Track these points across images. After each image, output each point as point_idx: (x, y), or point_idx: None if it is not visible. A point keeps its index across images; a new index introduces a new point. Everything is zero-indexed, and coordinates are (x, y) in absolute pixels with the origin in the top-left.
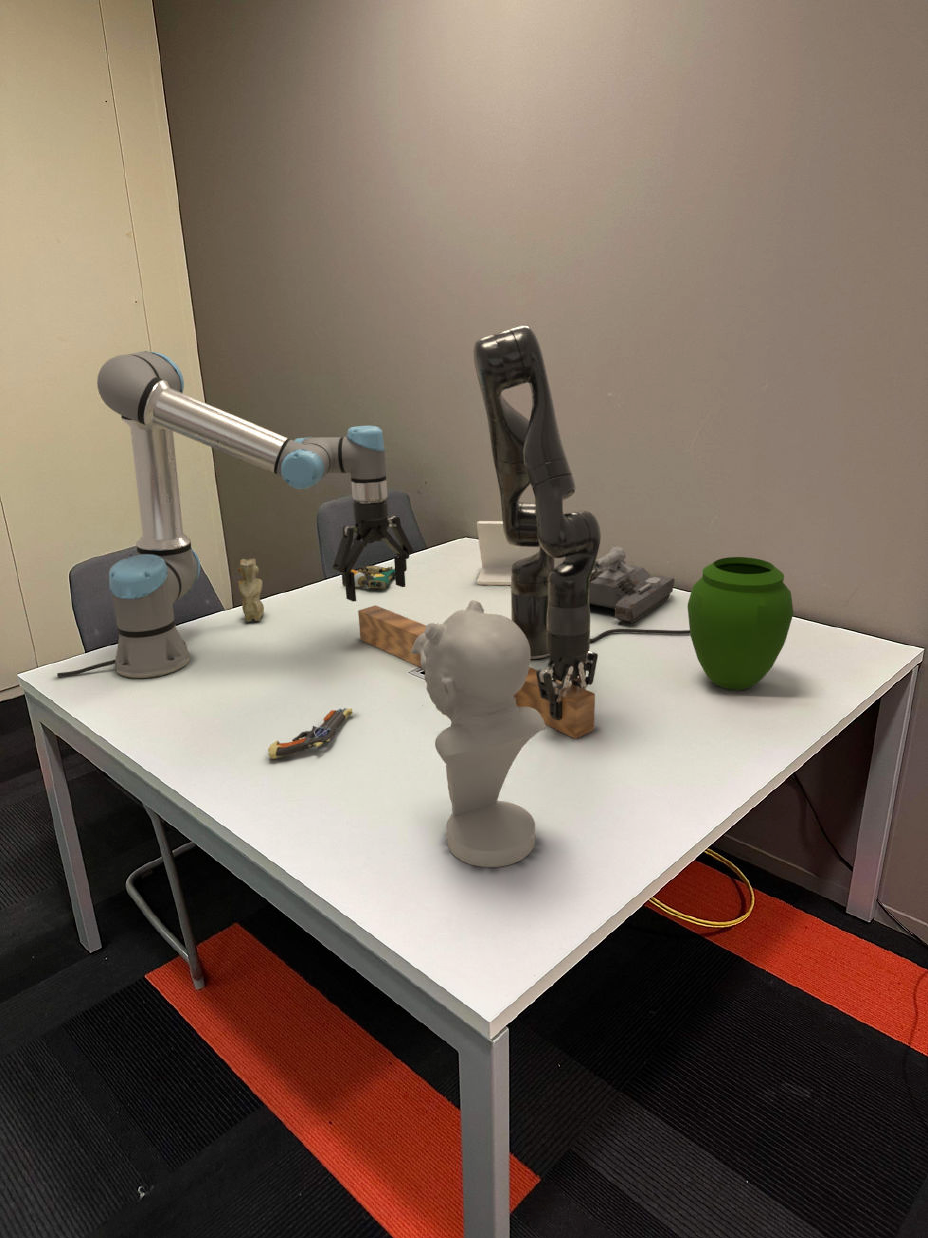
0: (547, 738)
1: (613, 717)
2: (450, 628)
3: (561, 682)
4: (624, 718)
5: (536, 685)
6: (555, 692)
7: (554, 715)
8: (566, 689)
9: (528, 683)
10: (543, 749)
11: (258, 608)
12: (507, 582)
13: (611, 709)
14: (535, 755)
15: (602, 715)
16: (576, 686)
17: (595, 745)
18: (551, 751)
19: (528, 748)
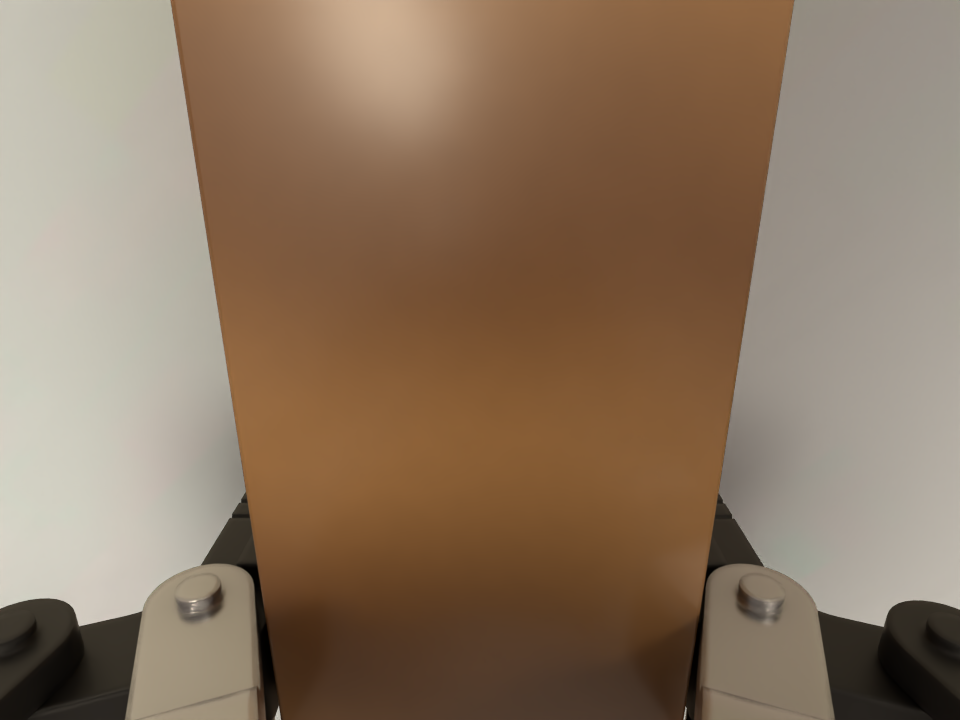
0: (225, 448)
1: (835, 556)
2: None
3: (642, 481)
4: (867, 610)
5: (212, 251)
6: (285, 643)
7: None
8: (490, 673)
9: (184, 4)
10: (99, 530)
11: None
12: None
13: (954, 473)
14: (2, 546)
15: (817, 488)
16: (671, 703)
17: None
18: (131, 578)
19: (10, 455)
